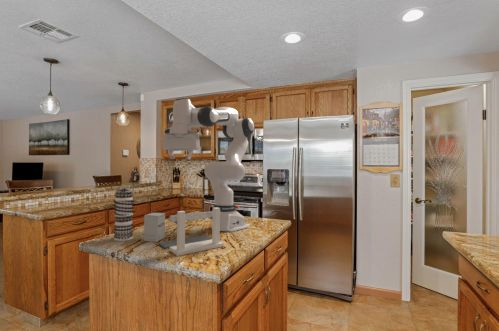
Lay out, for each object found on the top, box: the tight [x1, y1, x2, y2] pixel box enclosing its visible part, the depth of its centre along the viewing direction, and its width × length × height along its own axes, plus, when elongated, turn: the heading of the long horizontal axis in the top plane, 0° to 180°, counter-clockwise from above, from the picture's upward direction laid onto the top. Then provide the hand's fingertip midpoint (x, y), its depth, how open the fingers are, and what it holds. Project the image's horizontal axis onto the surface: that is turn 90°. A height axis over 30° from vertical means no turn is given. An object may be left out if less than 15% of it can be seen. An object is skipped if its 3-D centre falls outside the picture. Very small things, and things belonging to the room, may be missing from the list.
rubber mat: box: [158, 234, 212, 250], centre depth 127 cm, size 24×8×1 cm, turn 128°
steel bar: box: [169, 210, 221, 223], centre depth 119 cm, size 24×2×2 cm, turn 128°
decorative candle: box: [113, 187, 135, 242], centre depth 131 cm, size 9×9×25 cm
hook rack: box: [169, 207, 224, 257], centre depth 118 cm, size 22×8×18 cm, turn 128°
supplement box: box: [143, 212, 166, 243], centre depth 130 cm, size 7×7×13 cm
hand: (180, 159), depth 130 cm, fingers open, 8 cm apart
